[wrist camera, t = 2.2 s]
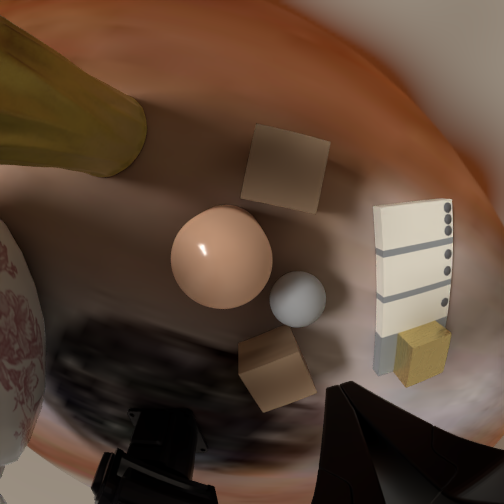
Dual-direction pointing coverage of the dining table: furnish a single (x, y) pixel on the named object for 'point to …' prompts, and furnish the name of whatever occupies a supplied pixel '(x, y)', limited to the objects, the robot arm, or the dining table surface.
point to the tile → (421, 353)
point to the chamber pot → (19, 352)
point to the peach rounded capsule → (221, 257)
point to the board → (410, 271)
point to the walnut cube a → (274, 369)
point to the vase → (62, 111)
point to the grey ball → (297, 299)
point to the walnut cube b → (285, 169)
